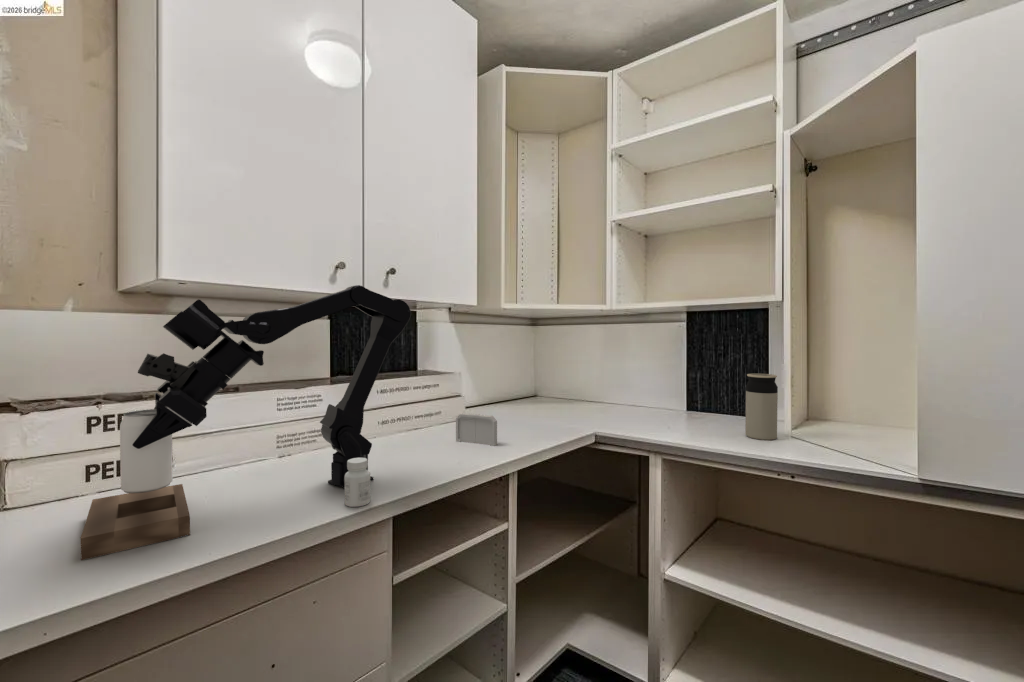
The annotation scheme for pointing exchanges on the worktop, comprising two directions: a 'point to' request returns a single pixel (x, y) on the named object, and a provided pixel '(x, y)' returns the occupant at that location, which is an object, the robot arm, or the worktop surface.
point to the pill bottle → (357, 483)
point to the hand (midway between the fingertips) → (135, 442)
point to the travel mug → (761, 407)
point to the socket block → (134, 521)
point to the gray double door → (476, 429)
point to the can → (143, 456)
